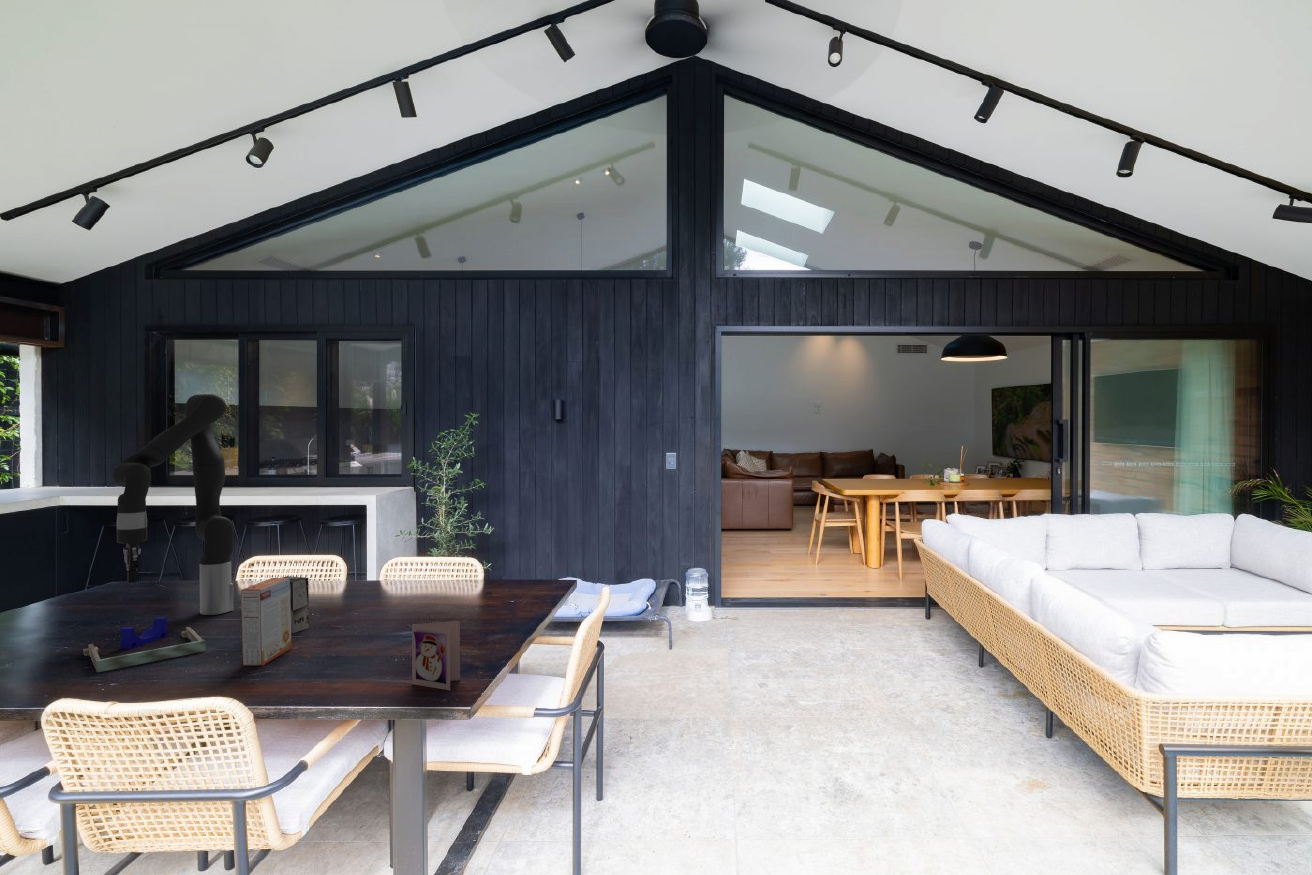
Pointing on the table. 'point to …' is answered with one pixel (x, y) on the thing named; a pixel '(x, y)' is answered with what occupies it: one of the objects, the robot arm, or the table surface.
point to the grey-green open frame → (147, 653)
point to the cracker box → (265, 621)
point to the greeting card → (436, 654)
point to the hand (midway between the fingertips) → (132, 582)
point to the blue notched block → (144, 634)
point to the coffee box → (299, 603)
